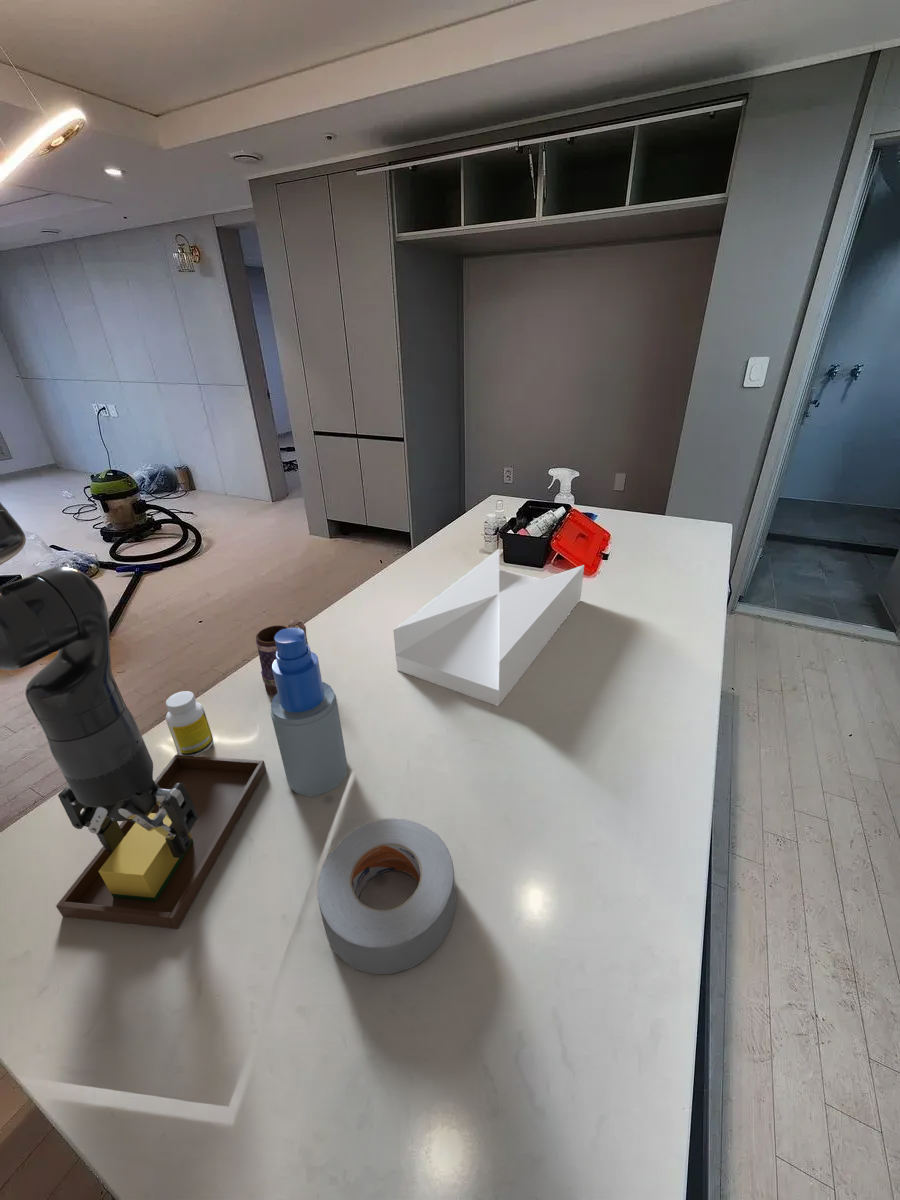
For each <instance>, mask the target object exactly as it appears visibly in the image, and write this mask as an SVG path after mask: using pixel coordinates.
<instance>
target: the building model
mask: <svg viewBox="0 0 900 1200" xmlns="http://www.w3.org/2000/svg"><path fill="white" fill-rule="evenodd" d="M584 571H585V564H581V565H579V566H576V567H573V568H570V569H567V570H564V571H561V572H558V573H555V574H552V575H550V576H546V577H544V578H540V577H535V576H532V575H526V574H523V573H522V574H521V573H516V572H513V571H509V570H503V569H500V548H497V550H495V551H494V552H493V553H491V554H490V555H488V556H487V557H486V558H485V559H484V560H482V561H480V562H479V563H478V564H476V566H474V567H473V568H471V569H470V570H469V571H467V572H466V573H465V574H463V576H461V577H460V578H458V580H456V581H455V582H453V583H452V584H450V585H449V586H448V587H447V588H445V589H444V590H442V591H441V592H440V593H439V594H438V595H436V596H434V597H433V598H432V599H431V600H429V602H427V603H426V604H425V605H423V606H422V607H421V608H419V609H418V610H416V611H415V612H414V613H412V614H411V615H410V616H409V617H407V618H406V619H405V620H404V621H402V622H401V623H400V624H398V625H397V626H396V627H394V628H393V631H392V632H393V641H394V652H395V662H396V671H398V672H401V673H403V674H407V675H409V676H412V677H415V678H417V679H421V680H424V681H426V682H429V683H432V684H434V683H435V685H438V686H440V687H443V688H446V689H449V690H451V691H454V692H457V693H460V694H463V695H464V696H469V697H471V698H474V699H476V700H478V701H482V702H485V703H488V704H491V705H494V706H496V707H499V706H501V704H502V702H503V701H504V700H505V698H506V697H507V696H508V695H509V693H510V692H511V690H512V689H513V688H514V687H515V686H516V684H517V683H518V682H519V681H520V679H521V678H522V677H523V675H524V674H525V673H526V672H527V670H528V669H529V667H530V666H531V665H532V663H533V662H534V661H535V660H536V658H537V657H538V656H539V655H540V653H541V652H542V651H543V649H544V648H545V647H546V646H547V644H548V643H549V642H550V641H551V639H552V638H553V637H554V635H555V634H556V633H557V631H558V630H559V629H560V627H561V626H562V625H563V624H562V622H563V621H564V620H565V619H566V620H567V618H568V617H569V616H568V614H569V613H570V612H571V610H572V609H573V608H574V607H575V605H576V604H577V603H578V601H579V600H580V599H582V598H581V597H582V589H583V580H584ZM580 601H581V600H580ZM578 604H579V603H578ZM578 604H577V605H578ZM577 605H576V606H577ZM575 608H576V607H575ZM575 608H574V609H575ZM574 609H573V610H574ZM571 613H572V612H571ZM571 613H570V614H571ZM567 616H568V617H567ZM566 617H567V618H566ZM566 620H565V621H566ZM565 621H564V622H565ZM564 622H563V623H564ZM561 624H562V625H561ZM560 625H561V626H560ZM559 626H560V627H559ZM558 628H559V629H558ZM557 629H558V630H557ZM555 632H556V633H555ZM554 633H555V634H554ZM551 637H552V638H551ZM548 641H549V642H548Z"/></svg>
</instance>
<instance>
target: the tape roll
mask: <svg viewBox="0 0 900 1200" xmlns="http://www.w3.org/2000/svg"><path fill="white" fill-rule="evenodd" d="M392 871H396V872H403V873H406V874H408V875H410V876H411V877H412V878H414V879H415V880H416V882H417V883H418V885H417V886H416V887H417V888H416V889H415V890H414V892H413V893H412V895H411V896H410V897H409V898H408V899H407V900H406V901H405V902H403V903H402V904H400V905H398V906H395V907H392V908H387V909H376V908H372V907H369V906H367V905H365V904H364V903H362V902H361V901H360V900H359V898H360V895H361V893H362V891H363V889H364V888H365V886H366V885H367V884H368V883H369V882H370V881H371V880H372V879H373V878H375V877H377V876H378V875H380V874H383V873H386V872H392ZM455 880H456V879H455V868H454V863H453V857H452V855H451V852H450V850H449V848H448V846H447V844H446V843H445V842H444V840H443V839H442V838H441V836H440V835H439V834H438V833H437V832H435V831H434V830H432V829H430V828H429V827H427V826H425V825H423V824H421V823H418V822H415V821H413V820H409V819H405V818H395V817H391V818H389V817H388V818H383V819H377V820H373V821H371V822H367V823H365V824H363V825H360V826H358V827H357V828H355V829H353V830H352V831H351V832H349V833H348V834H346V835H345V836H344V837H343V838H342V839H341V841H340V842H339V843H338V844H337V845H336V846H335V847H334V849H333V850H332V851H331V852H330V853H329V855H327V857H326V859H325V860H324V863H323V866H322V868H321V870H320V873H319V877H318V881H317V882H318V883H317V901H318V902H317V903H318V907H319V912H320V916H321V920H322V923H323V927H324V932H325V936H326V938H327V941H328V942H329V944H330V947H331V948H332V950H333V951H334V952H335V954H336V955H337V956H338V957H339V958H340V959H341V960H342V961H343V962H344V963H345V964H347V965H348V966H350V967H351V968H354V969H356V970H357V971H361V972H364V973H367V974H373V975H389V974H390V975H391V974H396V973H400V972H403V971H406V970H409V969H411V968H413V967H415V966H417V965H419V964H420V963H422V962H423V961H425V960H426V959H427V958H428V957H430V956H431V955H432V954H433V953H434V952H435V951H436V950H437V949H438V947H439V946H440V945H441V944H442V943H443V941H444V940H445V938H446V935H447V934H448V932H449V931H450V928H451V925H452V923H453V920H454V916H455V911H456V904H457V897H456V881H455Z"/></svg>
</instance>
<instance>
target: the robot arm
mask: <svg viewBox="0 0 900 1200" xmlns="http://www.w3.org/2000/svg"><path fill="white" fill-rule="evenodd" d="M26 539H27V537H26V534H25V531H23V529H22V527H21V526H20V524H19V523H18V522H17V520H16V519H15V518H14V517H13V515H12V514H11V513H10V512H9V510H8V509H7V508H6V506H5V505H3V503H2V502H1V501H0V566H2V565H4V564H5V563H6V562H8V561H9V560H11V559H12V558H14V557H15V556H17V555H18V554H19V553H20V552H21V551H22V550H23V548H24V547H25V546H26V541H27V540H26ZM108 610H109V609H108V606H107V603H106V600H105V597H104V594H103V593H102V591H101V589H100V587H99V586H98V584H96V582H95V581H94V580H93V579H92V578H91V577H90V576H88V574H85V573H84V572H83V571H81V570H78V569H76V568H73V567H70V566H56V567H51V568H48V569H45V570H42V571H39V572H37V573H35V574H31V575H30V576H26V577H24V578H20V579H18V580H16V581H13V582H11V583H8V584H5V585H2V586H0V670H3V671H16V670H20V669H23V668H25V667H27V666H30V665H32V664H34V663H37V662H38V661H40V660H43V659H44V658H46V657H48V656H49V655H52V654H54V653H55V652H57V653H56V655H55V656H54V657H53V658H52V660H50V662H49V663H47V664H46V665H45V666H44V667H43V668H42V669H40V671H38V672H37V673H36V674H35V675H34V676H33V677H31V679H30V680H29V682H28V683H27V684H26V687H25V698H26V701H27V704H28V706H29V708H30V709H31V712H32V713H33V714H34V716H35V719H36V720H37V722H38V724H39V726H40V727H41V729H42V731H43V733H44V735H45V738H46V740H47V743H48V746H49V750H50V752H51V755H52V757H53V759H54V760H55V762H56V764H57V766H58V768H59V769H60V772H61V774H62V775H63V777H64V779H65V780H66V783H67V784H66V786H65V787H64V788H63V789H62V791H60V792H59V793H58V794H57V797H58V799H59V801H60V803H61V805H62V807H63V809H64V812H65V813H66V816H67V817H68V819H69V821H70V823H71V825H72V827H73V828H75V829H77V830H83V828H84V827H86V828H87V830H88V831H89V832H90V833H92V834H95V835H96V837H97V838H98V840H99V841H100V843H101V845H102V847H103V846H104V847H105V849H106V851H107V852H110V853H113V851H114V850H115V849H116V847H117V846H118V845H119V844H120V842H121V841H122V840H123V838H124V837H125V836H124V834H123V832H122V830H121V828H120V824H119V822H123V821H130V822H136V823H138V824H139V825H141V826H142V827H143V828H145V829H146V830H148V831H153V830H156V831H157V832H159V833H160V834H161V835H163V836H164V837H166V838H165V840H166V842H167V844H168V846H169V849H170V851H171V853H172V855H173V857H174V858H181V857H182V855H183V854H184V853H185V852H186V850H187V848H188V847H189V845H190V844H191V839H190V837H189V832H190V830H191V829H192V827H193V826H194V824H195V822H196V821H197V819H198V818H199V816H198V814H197V812H196V809H195V807H194V805H193V803H192V801H191V799H190V797H189V795H188V793H187V790H186V788H185V786H184V785H182V784H180V783H176V784H175V785H174V787H173V788H172V789H161V788H160V786H158V785H157V784H156V783H155V782H154V781H155V780H154V777H153V776H154V761H153V759H152V757H151V755H150V752H149V750H148V747H147V745H146V742H145V740H144V738H143V735H142V733H141V731H140V729H139V726H138V723H137V721H136V719H135V717H134V715H133V713H132V712H131V711H130V709H129V708H128V706H127V704H126V702H125V700H124V697H123V695H122V693H121V691H120V689H119V686H118V684H117V682H116V679H115V677H114V674H113V671H112V658H111V657H112V656H111V643H110V618H109V611H108ZM156 804H157V805H158V806H159V811H158V813H157V814H156V816H155V817H154V818H153V820H152V819H150V818H149V817H148V815H149V814H150V813H151V811H152V810H153V809H154V807H155V805H156ZM82 810H83V811H82ZM166 816H167V817H168V818H169V819H170V820H171V822H172V823H171V825H170V826H169V827H168V826H167V825H166V824H164V823H163V819H164V818H165V817H166Z"/></svg>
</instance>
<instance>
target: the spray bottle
mask: <svg viewBox="0 0 900 1200" xmlns="http://www.w3.org/2000/svg"><path fill="white" fill-rule="evenodd" d="M274 639H275V644H276V648H277V651H276V660H275V661H274V662H273V664H272V671H273V675H274V680H275V684H276V688H277V694H276V695H275V696H274V695H273V697H272V700H271V703H270V716H271V721H272V725H273V730H274V733H275V737H276V741H277V745H278V750H279V753H280V757H281V761H282V765H283V769H284V773H285V778H286V781H287V784H288V786H289V789H291V790H292V791H293V792H295V794H299V795H302V796H307V797H309V796H310V797H315V796H319V795H324V794H327V793H328V792H330V791H332V790H334V789H336V787H338V786H339V785H340V784H341V783H342V782H343V780H344V779H345V778H346V776H347V773H348V770H349V769H348V760H347V753H346V748H345V743H344V742H345V741H344V736H343V730H342V724H341V723H342V722H341V718H340V717H341V716H340V711H339V706H338V705H339V704H338V700H337V695H336V693H335V691H334V689H333V688H332V686H331V685H329V684H328V683H326V682H325V681H323V678H322V674H321V672H322V671H321V668H320V662H319V657H318V656H317V654H316V653H315V652H313V651H311V647H310V645H309V644H308V645H307V643H306V637H305V632H304V631H303V630H302V629H300V628H299V627H295V628H286V629H282V630H280V631H279V632H277V633H276V635H275V637H274Z"/></svg>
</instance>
